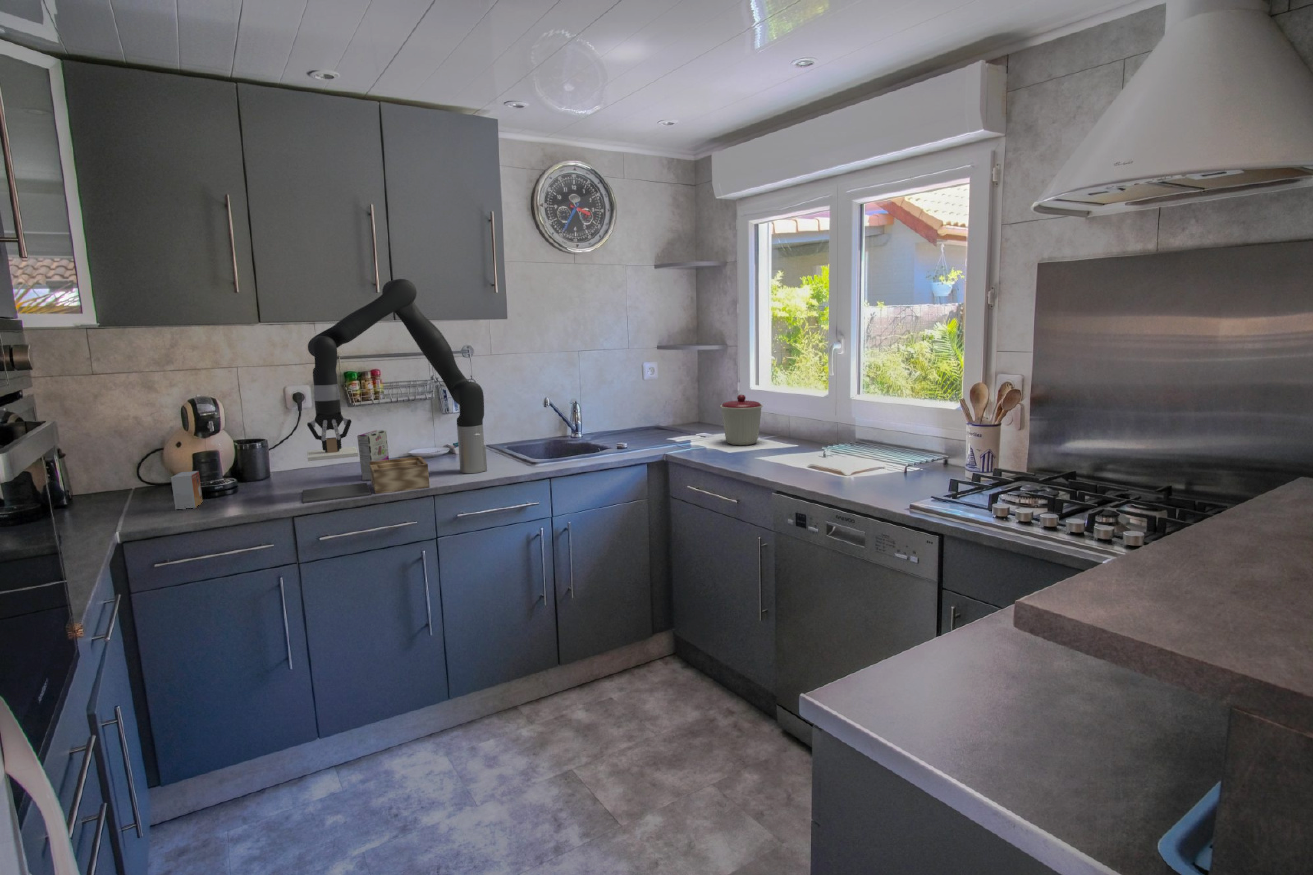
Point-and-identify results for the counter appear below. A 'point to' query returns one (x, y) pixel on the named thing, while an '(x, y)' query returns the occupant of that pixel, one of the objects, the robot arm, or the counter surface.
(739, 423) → the canister
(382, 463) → the wooden box
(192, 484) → the small box
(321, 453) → the cover plate
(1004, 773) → the counter surface
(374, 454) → the candy bar box
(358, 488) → the rubber mat
